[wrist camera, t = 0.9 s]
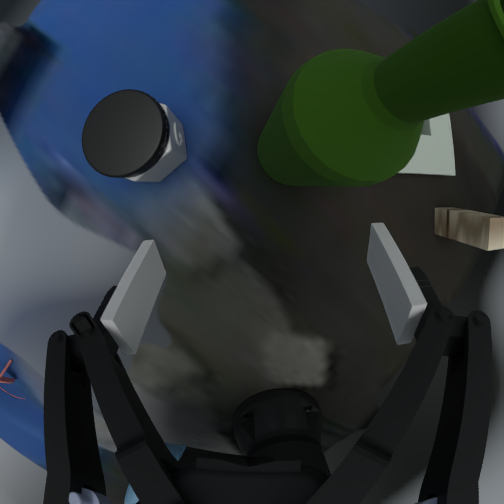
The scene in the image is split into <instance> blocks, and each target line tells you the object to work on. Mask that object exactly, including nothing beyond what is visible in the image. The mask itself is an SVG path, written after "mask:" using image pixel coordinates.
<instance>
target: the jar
mask: <svg viewBox="0 0 504 504" xmlns="http://www.w3.org/2000/svg"><path fill="white" fill-rule="evenodd" d="M82 148H83V152H84V155H85V157H86V160H87V161H88V163H89V164H90V166H91V167H92V168H93V169H95V170H96V171H97V172H99V173H100V174H102V175H105V176H108V177H118V178H126V179H129V180H132V181H135V182H161V181H162V180H163V179H164V178H165V177H166V176H168V175H169V174H170V173H171V172H172V171H173V170H175V169H176V168H177V167H178V166H179V165H181V164H182V163H183V162H184V161H185V160H186V159H187V153H186V145H185V138H184V130H183V124H182V123H181V122H180V121H179V120H178V118H177V117H176V116H175V115H174V114H173V113H172V111H171V110H170V109H169V108H168V107H167V106H166V105H164V104H161V103H158V102H156V100H155V99H154V98H153V97H151V96H150V95H148V94H146V93H144V92H142V91H138V90H131V89H128V90H121V91H117V92H114V93H112V94H110V95H108V96H107V97H105V98H104V99H102V100H101V101H100V102H99V103H98V104H97V105H96V106H95V107H94V108H93V110H92V111H91V112H90V114H89V116H88V118H87V120H86V122H85V125H84V128H83V133H82Z"/></svg>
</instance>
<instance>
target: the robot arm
mask: <svg viewBox="0 0 504 504" xmlns="http://www.w3.org/2000/svg"><path fill="white" fill-rule="evenodd" d="M367 263H368V265H369V268H370V270H371V273H372V275H373V278H374V280H375V283H376V286H377V288H378V291H379V294H380V296H381V299H382V302H383V304H384V307H385V310H386V313H387V316H388V319H389V322H390V325H391V328H392V331H393V334H394V337H395V340H396V343H397V345H400V344H406V343H411V341H412V339H413V337H414V336H415V339H416V341H417V342H416V344H415V346H414V348H413V350H412V352H411V354H410V356H409V358H408V360H407V362H406V364H405V366H404V368H403V370H402V372H401V373H400V375H399V377H398V379H397V381H396V382H395V384H394V386H393V388H392V389H391V391H390V393H389V395H388V396H387V398H386V399H385V401H384V403H383V404H382V406H381V407H380V409H379V411H378V412H377V414H376V415H375V417H374V418H373V420H372V421H371V423H370V424H369V426H368V427H367V429H366V430H365V432H364V433H363V434H362V436H361V437H360V439H359V440H358V441H357V443H356V444H355V445H354V447H353V448H352V450H351V451H350V452H349V453H348V455H347V456H346V457H345V459H344V460H343V461H342V463H341V464H340V465H339V466H338V467H337V469H336V470H335V471H334V472H333V474H332V475H331V473H330V470H329V467H328V464H327V461H326V458H325V455H324V452H323V449H322V446H321V436H322V426H323V416H322V412H321V410H320V407H319V405H318V403H317V401H316V400H315V399H314V398H313V397H312V396H310V395H309V394H307V393H304V392H302V391H298V390H293V389H276V390H270V391H265V392H262V393H259V394H257V395H254V396H252V397H251V398H249V399H247V400H246V401H244V402H243V403H242V404H241V405H240V406H239V407H238V409H237V410H236V412H235V414H234V416H233V433H234V437H235V439H236V441H237V443H238V445H239V447H240V449H241V451H242V452H243V454H244V456H242V455H233V454H226V453H219V452H213V451H207V450H201V449H196V448H191V447H186V445H184V444H182V445H176V444H170V443H165V442H164V441H163V440H162V438H161V436H160V435H159V433H158V431H157V430H156V428H155V426H154V424H153V423H152V421H151V419H150V417H149V416H148V414H147V412H146V410H145V408H144V406H143V404H142V403H141V401H140V399H139V397H138V395H137V393H136V391H135V389H134V387H133V385H132V383H131V381H130V379H129V377H128V375H127V373H126V370H125V368H124V366H123V364H122V362H121V360H120V357H119V356H118V354H117V350H118V348H120V350H121V351H122V352H123V354H131V355H136V352H137V349H138V346H139V343H140V340H141V338H142V335H143V332H144V330H145V327H146V324H147V321H148V319H149V316H150V314H151V311H152V309H153V306H154V303H155V301H156V298H157V296H158V293H159V290H160V288H161V286H162V283H163V281H164V278H165V276H166V271H165V269H164V266H163V263H162V261H161V258H160V255H159V252H158V250H157V247H156V244H155V241H154V240H145V241H143V242H142V244H141V245H140V247H139V249H138V251H137V252H136V254H135V256H134V258H133V259H132V261H131V263H130V264H129V266H128V268H127V270H126V271H125V273H124V275H123V277H122V279H121V280H120V283H119V284H118V286H113V287H112V288H111V289H110V290H109V291H108V292H107V294H106V295H105V297H104V300H103V301H102V303H101V305H100V307H99V308H98V310H97V312H96V314H95V316H94V318H92V317H91V315H90V314H89V313H88V312H80V313H78V314H76V315H75V316H74V317H73V318H72V319H71V322H70V328H71V329H72V331H73V332H74V333H75V334H74V335H70V336H68V335H67V334H66V333H65V332H64V331H62V330H59V331H57V332H54V333H53V334H52V335H51V337H50V338H49V341H48V348H47V357H46V369H45V384H44V439H45V454H46V465H47V479H46V486H45V494H44V502H43V504H111V502H110V500H109V499H108V498H107V497H106V487H105V481H104V475H103V470H102V466H101V460H100V455H99V449H98V444H97V437H96V430H95V423H94V414H93V405H92V395H91V385H92V388H93V390H94V394H95V396H96V399H97V402H98V404H99V407H100V410H101V412H102V415H103V417H104V420H105V422H106V425H107V427H108V429H109V432H110V434H111V436H112V438H113V441H114V443H115V445H116V447H117V451H116V452H115V455H116V458H117V461H118V463H119V465H120V467H121V469H122V471H123V473H124V474H125V476H126V478H127V480H128V482H129V486H128V489H127V492H126V496H125V501H124V502H125V503H124V504H360V503H361V501H362V500H363V499H364V498H365V496H366V495H367V494H368V492H369V491H370V490H371V488H372V487H373V486H374V484H375V483H376V482H377V480H378V479H379V477H380V476H381V475H382V473H383V472H384V470H385V468H386V467H387V465H388V464H389V462H390V460H391V457H392V454H393V453H394V451H395V449H396V448H397V446H398V444H399V443H400V441H401V439H402V438H403V436H404V434H405V433H406V431H407V429H408V427H409V425H410V424H411V422H412V420H413V418H414V416H415V414H416V412H417V410H418V409H419V407H420V404H421V402H422V400H423V398H424V396H425V394H426V392H427V390H428V388H429V386H430V384H431V381H432V379H433V377H434V374H435V372H436V370H437V367H438V365H439V362H440V360H441V357H442V356H449V359H448V369H447V377H446V385H445V392H444V398H443V404H442V409H441V415H440V420H439V424H438V429H437V433H436V438H435V442H434V446H433V450H432V453H431V457H430V460H429V464H428V467H427V470H426V473H425V476H424V479H423V483H422V486H421V490H420V494H419V499H418V503H415V504H479V495H478V494H479V491H478V481H479V476H480V472H481V468H482V463H483V458H484V453H485V447H486V441H487V435H488V427H489V418H490V408H491V392H492V340H491V325H490V320H489V318H488V316H487V315H486V314H485V313H484V312H482V311H479V310H474V311H471V313H470V314H469V315H468V317H462V316H456V315H453V312H452V311H451V310H450V309H448V308H447V307H445V306H442V305H441V303H440V301H439V299H438V297H437V295H436V293H435V291H434V289H433V287H432V286H431V284H430V282H429V281H428V278H427V276H426V275H425V273H424V272H423V271H422V270H421V269H420V268H419V267H408V265H407V263H406V261H405V259H404V258H403V256H402V254H401V252H400V250H399V249H398V247H397V245H396V243H395V242H394V240H393V238H392V237H391V235H390V233H389V231H388V230H387V228H386V226H385V225H384V223H371V231H370V239H369V247H368V255H367Z"/></svg>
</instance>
